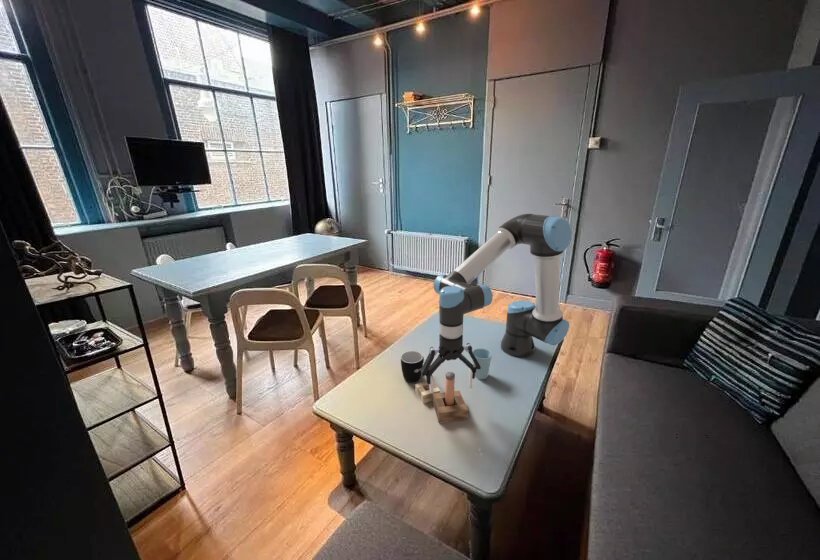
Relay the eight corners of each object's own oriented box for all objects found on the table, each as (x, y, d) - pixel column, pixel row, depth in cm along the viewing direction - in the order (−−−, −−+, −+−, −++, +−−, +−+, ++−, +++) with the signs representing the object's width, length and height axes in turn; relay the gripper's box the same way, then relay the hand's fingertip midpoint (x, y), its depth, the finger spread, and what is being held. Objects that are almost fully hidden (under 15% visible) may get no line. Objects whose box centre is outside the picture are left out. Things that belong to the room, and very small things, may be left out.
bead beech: (431, 387, 127) (431, 379, 126) (440, 398, 121) (440, 390, 120) (415, 392, 125) (415, 384, 124) (423, 403, 119) (423, 395, 118)
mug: (414, 388, 127) (413, 365, 124) (396, 379, 133) (396, 358, 129) (431, 373, 136) (431, 352, 133) (414, 366, 141) (414, 345, 138)
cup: (469, 369, 138) (470, 348, 134) (487, 369, 138) (489, 348, 134) (473, 381, 131) (474, 358, 127) (492, 380, 131) (493, 358, 127)
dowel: (452, 407, 117) (453, 371, 112) (454, 413, 114) (455, 376, 109) (444, 408, 116) (444, 372, 111) (446, 414, 113) (446, 377, 108)
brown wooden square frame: (459, 399, 120) (459, 390, 119) (467, 419, 111) (467, 409, 110) (432, 402, 119) (432, 393, 118) (438, 422, 110) (438, 413, 108)
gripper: (484, 324, 110) (481, 377, 117) (411, 332, 107) (413, 385, 114) (492, 335, 103) (489, 391, 110) (414, 343, 100) (416, 400, 107)
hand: (450, 388), depth 112 cm, fingers open, 13 cm apart
